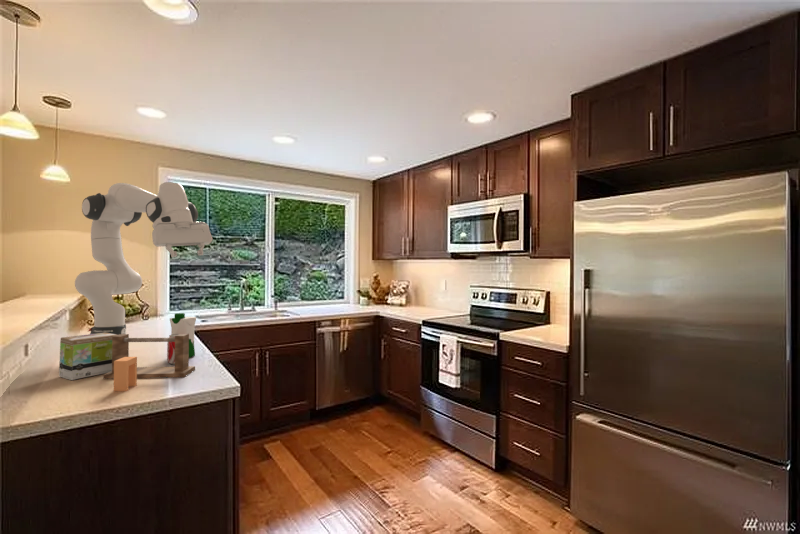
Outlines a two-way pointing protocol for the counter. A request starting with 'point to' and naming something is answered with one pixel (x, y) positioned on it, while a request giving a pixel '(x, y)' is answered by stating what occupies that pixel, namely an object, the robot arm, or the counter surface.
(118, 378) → the tall peach brick
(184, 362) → the hanger stand
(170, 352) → the soda can
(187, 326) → the milk carton
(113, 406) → the counter surface
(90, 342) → the tea box
